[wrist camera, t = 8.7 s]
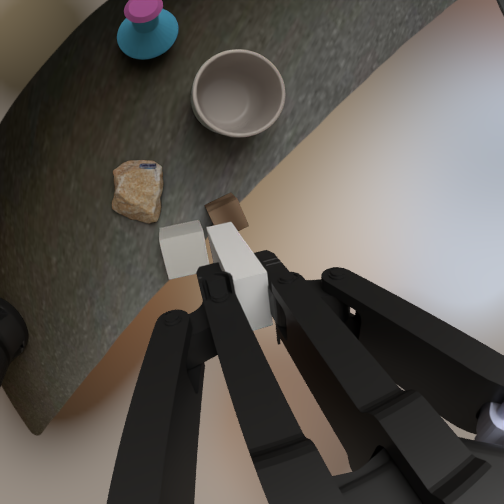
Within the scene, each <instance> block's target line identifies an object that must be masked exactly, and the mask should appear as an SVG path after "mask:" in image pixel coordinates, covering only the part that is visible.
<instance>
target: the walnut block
mask: <svg viewBox="0 0 504 504" xmlns="http://www.w3.org/2000/svg"><path fill="white" fill-rule="evenodd" d="M205 207H206V210H207V212H208V214H209V216H210V218H211V220H212V222H213V224H214V225H219V224H223V223H228V222H232V224H233V225H234V226H235V228H236V229H237V231H240V230H242V229H243V228H246V227H248V222H247V220H246V218H245V215H244V213H243V211H242V209H241V207H240V204H239V202H238V199H237V198H236V197H235V196H234V195H233V194H232V193H229V194H227V195H225V196H223V197H220V198H218V199H216V200H214V201H212V202H210V203H208V204H206V205H205Z"/></svg>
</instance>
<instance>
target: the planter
mask: <svg viewBox="0 0 504 504" xmlns="http://www.w3.org/2000/svg"><path fill="white" fill-rule="evenodd" d="M284 102H285V86H284V82H283V79H282V77H281V75H280V73H279V71H278V70H277V68H276V67H275V66H274V65H273V64H272V63H271V62H270V61H269V60H268V59H266V58H265V57H263V56H262V55H260V54H258V53H255V52H252V51H248V50H240V49H238V50H228V51H224V52H221V53H219V54H217V55H215V56H213V57H211V58H210V59H209V60H207V61H206V62H205V63H204V64H203V65H202V67H201V68H200V69H199V71H198V73H197V75H196V77H195V79H194V82H193V86H192V90H191V106H192V110H193V112H194V115H195V116H196V118H197V119H198V121H199V122H200V123H201V124H202V125H203V126H205V127H206V128H207V129H209V130H211V131H213V132H215V133H218V134H222V135H226V136H230V137H249V136H253V135H256V134H259V133H261V132H263V131H265V130H266V129H268V128H269V127H270V126H271V125H272V124H273V123H274V122H275V121H276V120H277V119H278V117H279V115H280V114H281V112H282V109H283V106H284Z"/></svg>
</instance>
